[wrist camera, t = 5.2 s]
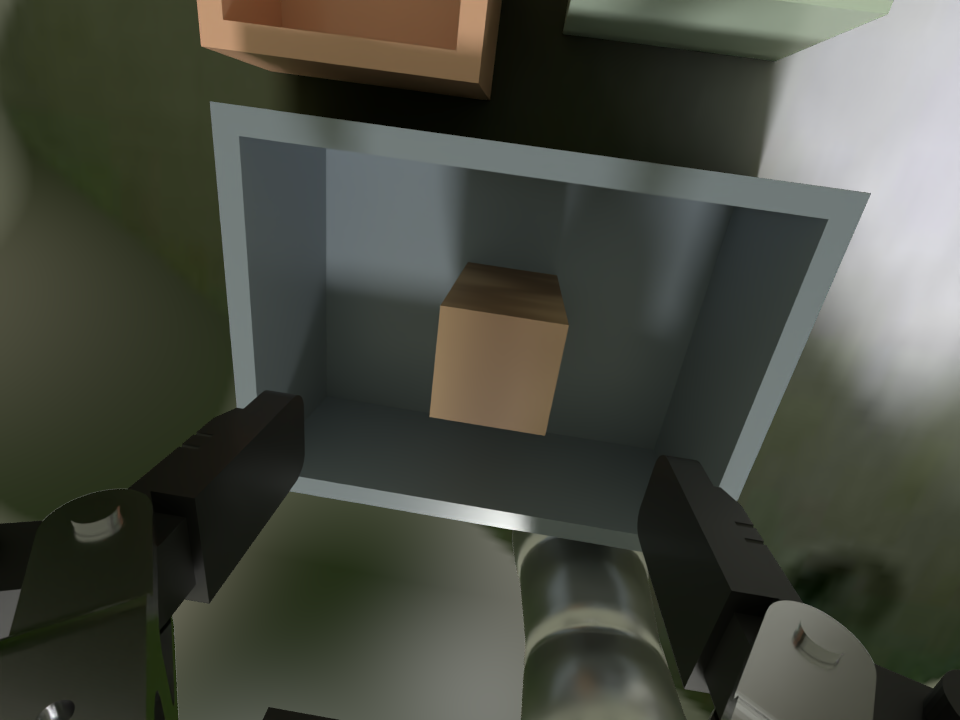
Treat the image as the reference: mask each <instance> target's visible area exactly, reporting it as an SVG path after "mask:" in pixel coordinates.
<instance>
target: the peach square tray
mask: <svg viewBox="0 0 960 720" xmlns="http://www.w3.org/2000/svg"><path fill="white" fill-rule="evenodd" d="M501 4H502V0H197V6H198V17H199V28H200V39H201V46H202V47H205V48H208V49H210V50H213V51H216V52H219V53H222V54H224V55H227V56H230V57H233V58H236V59H238V60H241V61H244V62H247V63H250V64H252V65H255V66H258V67H261V68H264V69H266V70H269V71H273V72H280V73H287V74H295V75H302V76H310V77H317V78H324V79H332V80H339V81H346V82H354V83H361V84H369V85H376V86H383V87H391V88H398V89H406V90H413V91H420V92H428V93H435V94H443V95H450V96H457V97H465V98H472V99H479V100H487V101H490V95H491V87H492V79H493V70H494V62H495V54H496V46H497V37H498V29H499V21H500V12H501Z"/></svg>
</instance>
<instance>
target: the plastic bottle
mask: <svg viewBox="0 0 960 720" xmlns="http://www.w3.org/2000/svg"><path fill="white" fill-rule="evenodd" d="M512 543H513V551H514V558H515V565H516V570H517V574H518V578H519V582H520V586H521V598H522V610H523V622H524V634H525V652H524V674H523V689H522V707H521V720H686V717H685V715H684V713H683V709H682V706H681V703H680V700H679V697H678V694H677V691H676V688H675V685H674V682H673V679H672V676H671V673H670V670H669V669H668V665H667V662H666V658H665V655H664V652H663V650H662V647H661V644H660V640H659V635H658V630H657V624H656V619H655V614H654V609H653V603H652V598H651V593H650V588H649V582H648V568H647V565H646V562H645V558H644V555H643V552H639V551H633V550H628V549H622V548H616V547H610V546H604V545H599V544H593V543H587V542H581V541H576V540H570V539H564V538H558V537H552V536H547V535H541V534H535V533H529V532H523V531H518V530H513V536H512Z"/></svg>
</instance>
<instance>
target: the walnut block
mask: <svg viewBox="0 0 960 720" xmlns="http://www.w3.org/2000/svg"><path fill="white" fill-rule="evenodd" d="M568 327H569V324H568V319H567V315H566V311H565V307H564V303H563V298H562V294H561V290H560V286H559V282H558V277H557V275H551V274H545V273H538V272H531V271H525V270H518V269H511V268H505V267H498V266H491V265H485V264H478V263H471V262H468V263H467V264H466V266H465V268H464V269H463V271H462V272H461V274H460V275H459V277H458V279H457V280H456V282H455V283H454V285H453V286H452V288H451V290H450V291H449V293H448V294H447V296H446V297H445V299H444V301H443V302H442V304H441V305H440V314H439V325H438V335H437V345H436V355H435V365H434V375H433V385H432V396H431V406H430V416H429V417H433V418H439V419H445V420H451V421H458V422H464V423H470V424H476V425H482V426H488V427H494V428H500V429H506V430H512V431H518V432H525V433H531V434H537V435H543V436H545V434H546V429H547V425H548V420H549V415H550V411H551V406H552V401H553V397H554V392H555V387H556V383H557V378H558V374H559V369H560V364H561V360H562V355H563V350H564V346H565V341H566V336H567V332H568Z"/></svg>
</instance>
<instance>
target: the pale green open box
mask: <svg viewBox="0 0 960 720" xmlns="http://www.w3.org/2000/svg"><path fill="white" fill-rule="evenodd" d="M892 3H893V0H568V4H567V10H566V16H565V22H564V28H563V34H567V35H575V36H583V37H591V38H598V39H606V40H614V41H622V42H629V43H637V44H645V45H653V46H661V47H668V48H676V49H684V50H692V51H699V52H707V53H715V54H723V55H731V56H738V57H746V58H754V59H762V60H769V61H777V60H780V59H782V58H785V57H787V56H789V55H792V54H794V53H796V52H799V51H801V50H804V49H806V48H808V47H811V46H813V45H816V44H818V43H820V42H823V41H825V40H828V39H830V38H832V37H835V36H837V35H839V34H842V33H844V32H847V31H849V30H851V29H854V28H856V27H859V26H861V25H863V24H866V23H868V22H871V21H873V20H875V19H878V18H880V17H883V16H885V15H887V14H888V13H889V11H890V8H891V5H892Z"/></svg>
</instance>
